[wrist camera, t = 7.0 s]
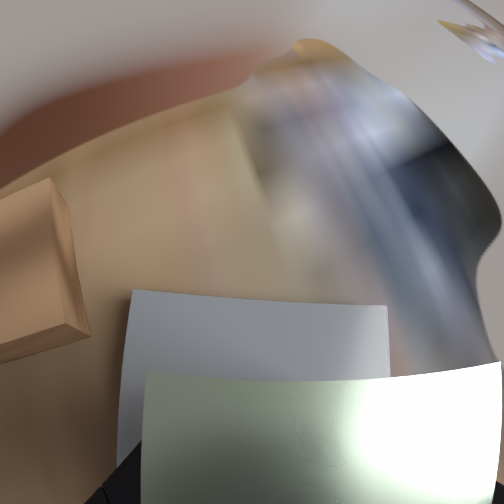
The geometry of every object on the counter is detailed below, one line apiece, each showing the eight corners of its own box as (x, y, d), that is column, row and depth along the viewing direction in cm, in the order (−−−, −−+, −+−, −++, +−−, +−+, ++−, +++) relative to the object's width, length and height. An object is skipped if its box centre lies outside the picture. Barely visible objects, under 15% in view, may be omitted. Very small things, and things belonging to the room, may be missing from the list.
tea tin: (324, 484, 10) (471, 573, 2) (193, 484, 10) (151, 626, 2) (328, 389, 12) (500, 361, 4) (198, 385, 11) (146, 369, 3)
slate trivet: (366, 525, 11) (378, 534, 9) (127, 524, 10) (118, 535, 9) (373, 313, 16) (386, 305, 14) (140, 298, 15) (132, 288, 14)
